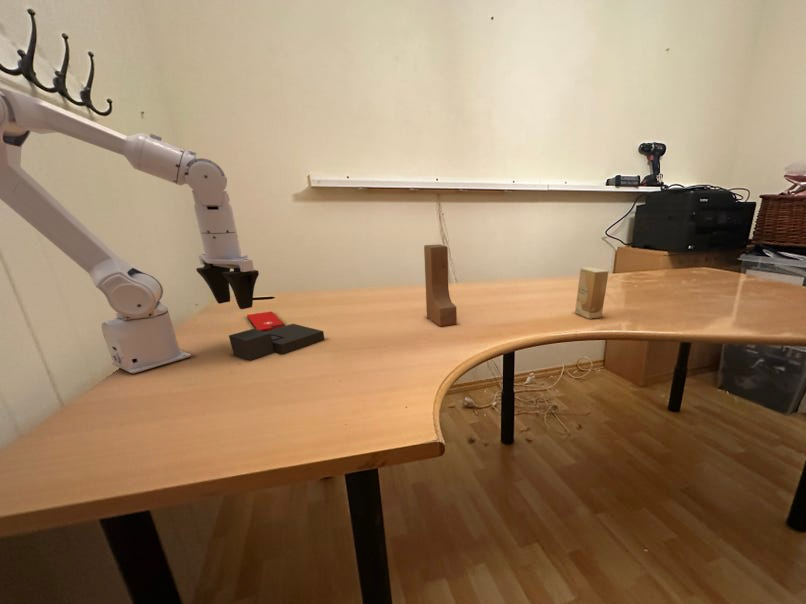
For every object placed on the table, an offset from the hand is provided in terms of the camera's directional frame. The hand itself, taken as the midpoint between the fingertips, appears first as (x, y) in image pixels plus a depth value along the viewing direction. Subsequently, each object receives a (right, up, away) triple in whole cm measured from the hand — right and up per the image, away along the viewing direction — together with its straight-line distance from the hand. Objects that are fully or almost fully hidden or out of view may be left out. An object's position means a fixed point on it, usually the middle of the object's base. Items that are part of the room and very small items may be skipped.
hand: (234, 305), depth 78 cm
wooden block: (+38, -1, +22) cm, 44 cm away
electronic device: (-4, -2, +19) cm, 20 cm away
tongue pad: (+4, -9, +1) cm, 10 cm away
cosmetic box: (+77, +1, +28) cm, 82 cm away
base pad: (+8, -7, +6) cm, 12 cm away
